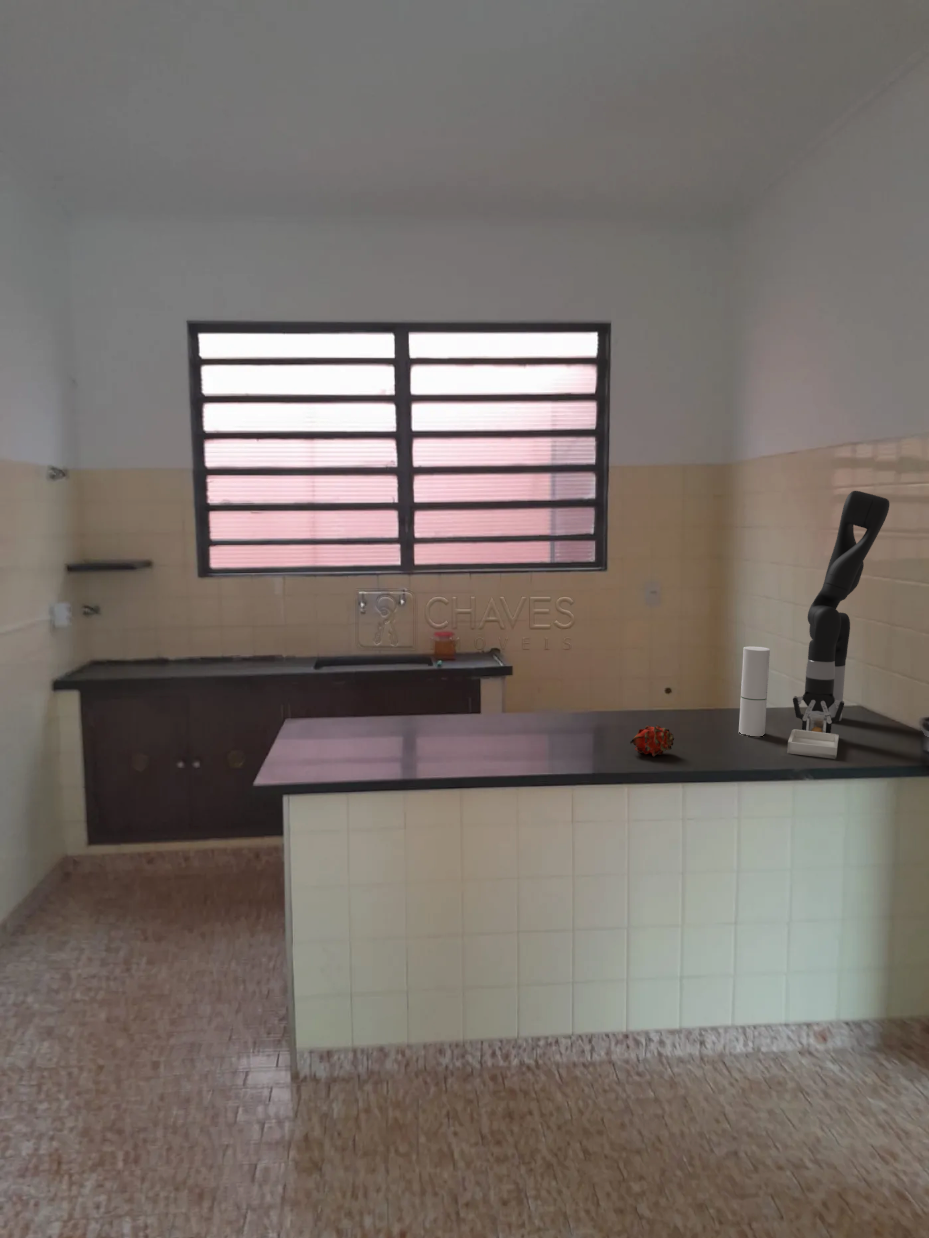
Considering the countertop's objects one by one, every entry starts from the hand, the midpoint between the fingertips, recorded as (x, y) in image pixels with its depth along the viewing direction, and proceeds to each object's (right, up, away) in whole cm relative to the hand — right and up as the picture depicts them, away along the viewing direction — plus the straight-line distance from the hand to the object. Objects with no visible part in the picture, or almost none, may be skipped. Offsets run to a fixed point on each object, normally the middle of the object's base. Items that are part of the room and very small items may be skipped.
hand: (816, 734), depth 246 cm
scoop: (0, -1, 0) cm, 1 cm away
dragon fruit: (-51, -3, -18) cm, 54 cm away
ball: (-1, +1, -2) cm, 2 cm away
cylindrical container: (-17, -1, +3) cm, 18 cm away
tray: (-6, -3, -12) cm, 13 cm away
